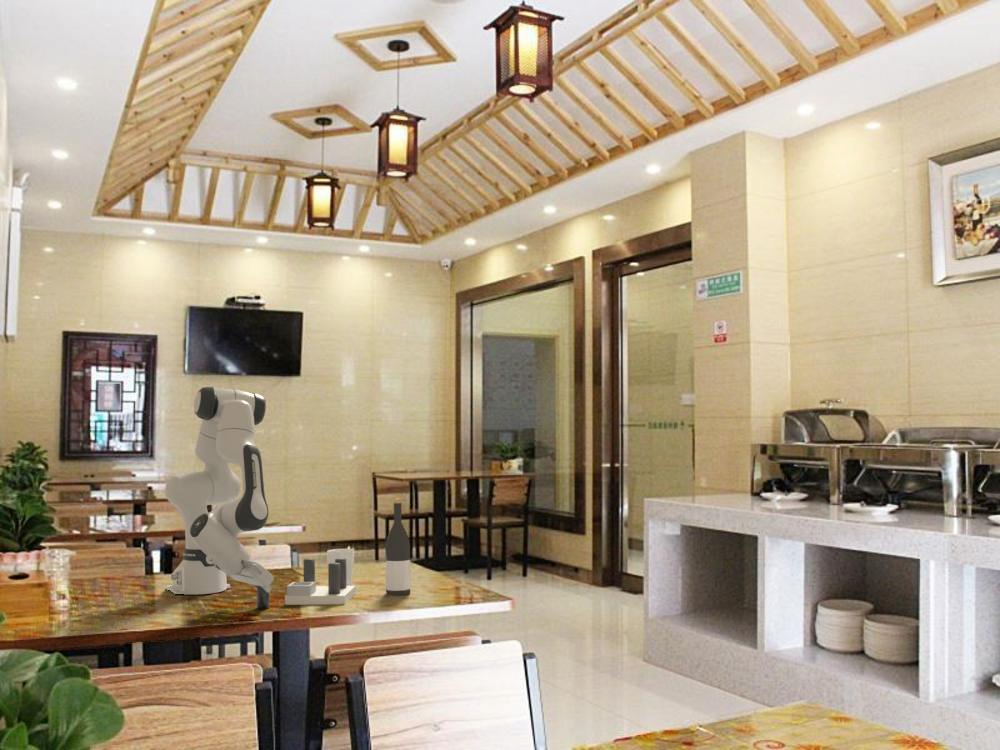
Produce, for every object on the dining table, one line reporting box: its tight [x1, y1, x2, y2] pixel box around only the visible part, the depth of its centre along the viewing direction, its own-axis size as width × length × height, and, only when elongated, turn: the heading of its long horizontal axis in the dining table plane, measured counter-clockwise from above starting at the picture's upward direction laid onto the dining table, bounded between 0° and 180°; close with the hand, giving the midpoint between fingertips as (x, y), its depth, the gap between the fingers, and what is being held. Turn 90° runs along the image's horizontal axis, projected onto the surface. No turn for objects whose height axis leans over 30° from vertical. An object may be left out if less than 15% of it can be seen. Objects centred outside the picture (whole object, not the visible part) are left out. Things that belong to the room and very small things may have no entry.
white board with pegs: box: [284, 558, 357, 606], centre depth 283 cm, size 18×18×12 cm
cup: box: [326, 548, 355, 586], centre depth 306 cm, size 9×9×12 cm
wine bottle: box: [385, 497, 411, 597], centre depth 292 cm, size 8×8×30 cm
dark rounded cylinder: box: [256, 586, 270, 610], centre depth 270 cm, size 4×4×9 cm
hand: (265, 589), depth 270 cm, fingers closed on dark rounded cylinder, 3 cm apart
